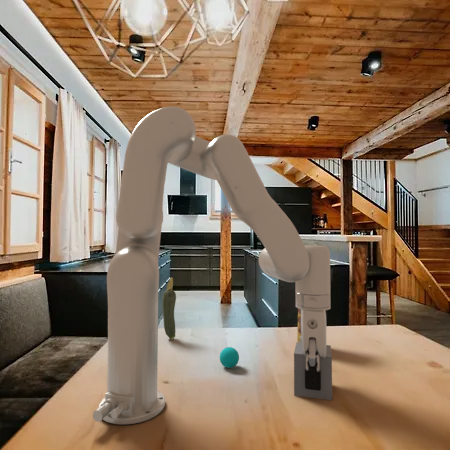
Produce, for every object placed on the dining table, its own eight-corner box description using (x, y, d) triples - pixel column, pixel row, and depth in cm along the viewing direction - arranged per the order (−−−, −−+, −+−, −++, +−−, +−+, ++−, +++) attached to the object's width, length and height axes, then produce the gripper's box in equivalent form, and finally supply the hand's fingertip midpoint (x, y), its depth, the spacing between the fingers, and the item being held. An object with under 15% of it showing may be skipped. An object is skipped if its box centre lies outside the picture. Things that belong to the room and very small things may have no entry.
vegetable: (168, 342, 107) (168, 278, 107) (159, 339, 109) (159, 277, 110) (178, 338, 110) (178, 277, 111) (169, 336, 113) (169, 276, 113)
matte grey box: (332, 400, 69) (331, 357, 70) (294, 395, 71) (293, 353, 72) (330, 384, 77) (330, 345, 77) (296, 380, 79) (296, 342, 79)
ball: (236, 372, 83) (236, 351, 84) (217, 369, 85) (217, 349, 85) (240, 364, 88) (240, 345, 88) (222, 362, 90) (222, 343, 90)
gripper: (331, 310, 65) (332, 402, 65) (329, 294, 82) (329, 367, 82) (292, 307, 67) (292, 396, 67) (298, 293, 84) (298, 364, 84)
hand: (313, 380), depth 74 cm, fingers closed on matte grey box, 7 cm apart
